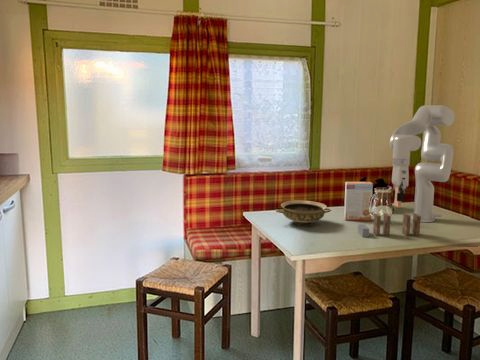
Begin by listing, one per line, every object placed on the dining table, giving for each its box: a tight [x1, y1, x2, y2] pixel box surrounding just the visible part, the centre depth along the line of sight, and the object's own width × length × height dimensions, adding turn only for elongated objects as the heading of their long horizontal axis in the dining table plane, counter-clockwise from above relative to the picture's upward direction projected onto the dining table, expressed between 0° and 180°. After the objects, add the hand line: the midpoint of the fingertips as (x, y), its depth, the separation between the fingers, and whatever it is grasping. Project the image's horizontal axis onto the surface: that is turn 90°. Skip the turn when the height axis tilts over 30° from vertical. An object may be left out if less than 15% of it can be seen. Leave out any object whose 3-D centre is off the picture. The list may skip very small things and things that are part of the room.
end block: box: [357, 223, 370, 238], centre depth 217 cm, size 3×8×4 cm, turn 1°
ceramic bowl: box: [275, 199, 332, 226], centre depth 236 cm, size 30×24×10 cm
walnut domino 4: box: [411, 212, 421, 237], centre depth 216 cm, size 2×5×10 cm, turn 0°
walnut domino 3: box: [401, 213, 412, 237], centre depth 216 cm, size 2×5×10 cm, turn 0°
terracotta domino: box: [393, 186, 403, 208], centre depth 214 cm, size 2×5×10 cm, turn 0°
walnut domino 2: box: [382, 212, 392, 237], centre depth 216 cm, size 2×5×10 cm, turn 1°
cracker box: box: [343, 181, 374, 222], centre depth 243 cm, size 14×6×21 cm, turn 84°
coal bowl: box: [358, 176, 389, 195], centre depth 268 cm, size 20×20×19 cm
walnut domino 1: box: [372, 212, 382, 237], centre depth 216 cm, size 2×5×10 cm, turn 0°
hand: (398, 199), depth 214 cm, fingers closed on terracotta domino, 4 cm apart
